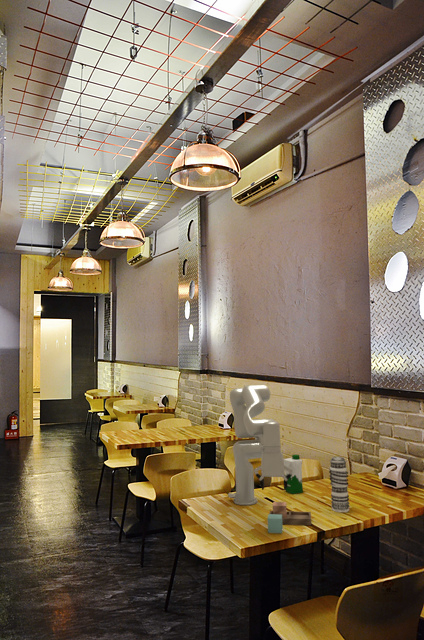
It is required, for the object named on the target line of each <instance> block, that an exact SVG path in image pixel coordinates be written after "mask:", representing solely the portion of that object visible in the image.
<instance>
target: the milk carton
mask: <svg viewBox="0 0 424 640" xmlns="http://www.w3.org/2000/svg"><path fill="white" fill-rule="evenodd" d="M291 456H292V457H288V458H284V465H285V466H287V467H288V468H290V469H292V470H293V472H292V475H291V477H290V478H289V479H288V480H287V488H286V490H285V492H286V493H289V494H291V495H297V494H301V493H304V490H303V489H304V488H303V486H304V485H303V475H302V473H303V471H302V465H303V459H301V458H300V454H292V455H291ZM288 474H289V471H287V470H285V475H286V476H287V475H288Z"/></svg>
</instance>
